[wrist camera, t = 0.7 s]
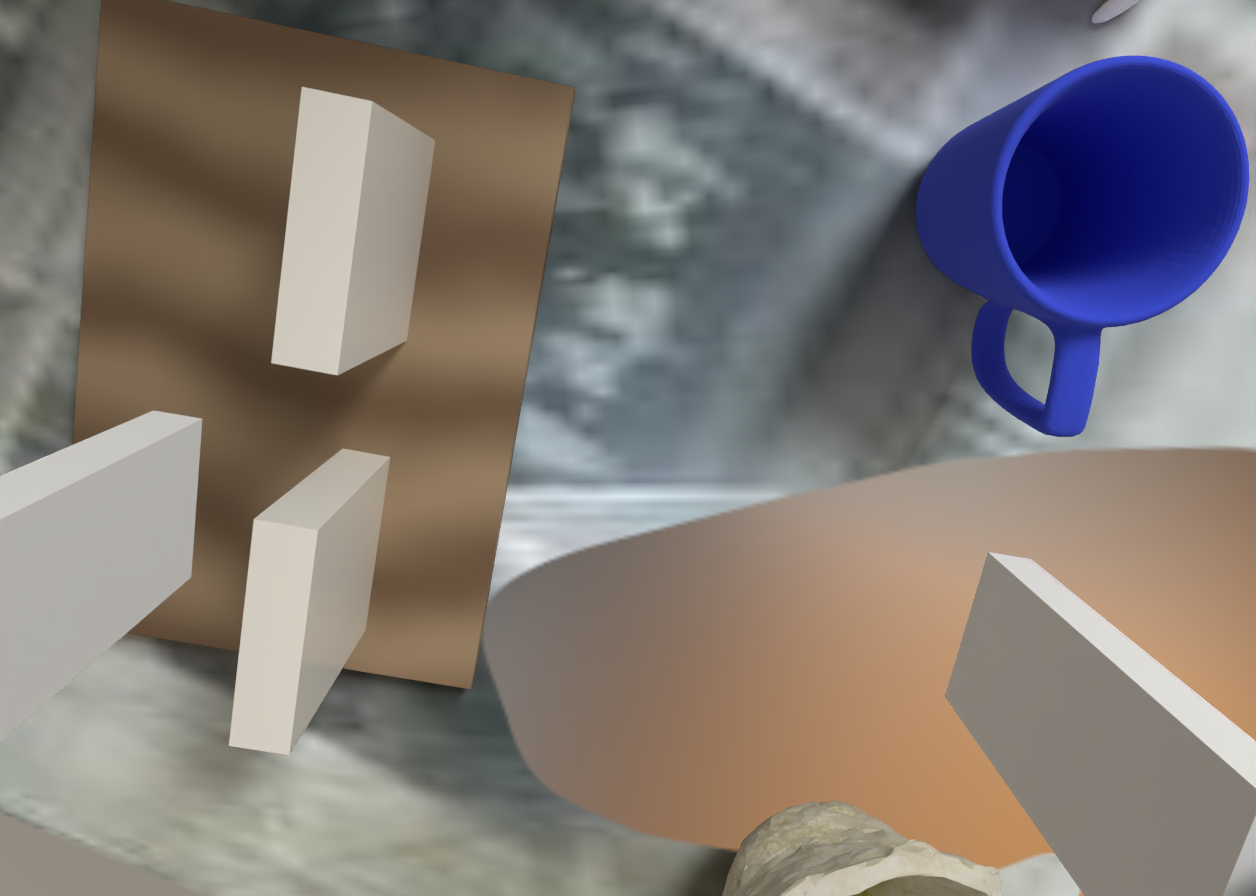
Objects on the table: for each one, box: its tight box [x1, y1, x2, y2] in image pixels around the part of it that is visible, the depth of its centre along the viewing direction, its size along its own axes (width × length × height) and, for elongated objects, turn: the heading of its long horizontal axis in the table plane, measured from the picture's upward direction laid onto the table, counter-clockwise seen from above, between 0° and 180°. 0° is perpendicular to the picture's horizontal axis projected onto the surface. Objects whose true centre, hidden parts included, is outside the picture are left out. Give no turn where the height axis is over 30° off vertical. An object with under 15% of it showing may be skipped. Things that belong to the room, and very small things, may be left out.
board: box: [73, 0, 575, 689], centre depth 38 cm, size 26×18×1 cm
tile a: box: [271, 87, 435, 375], centre depth 31 cm, size 8×2×10 cm, turn 169°
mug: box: [916, 56, 1249, 437], centre depth 33 cm, size 8×12×10 cm
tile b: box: [229, 449, 390, 755], centre depth 34 cm, size 8×2×10 cm, turn 169°
